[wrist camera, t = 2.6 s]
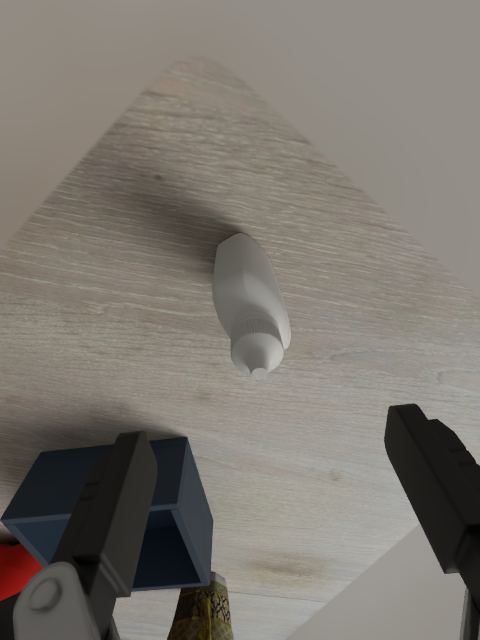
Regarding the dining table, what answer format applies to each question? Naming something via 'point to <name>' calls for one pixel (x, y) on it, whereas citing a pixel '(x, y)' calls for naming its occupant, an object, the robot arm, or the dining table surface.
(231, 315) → the eye dropper bottle
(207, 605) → the ceramic cup
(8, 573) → the tomato
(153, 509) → the bin
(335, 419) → the dining table surface
